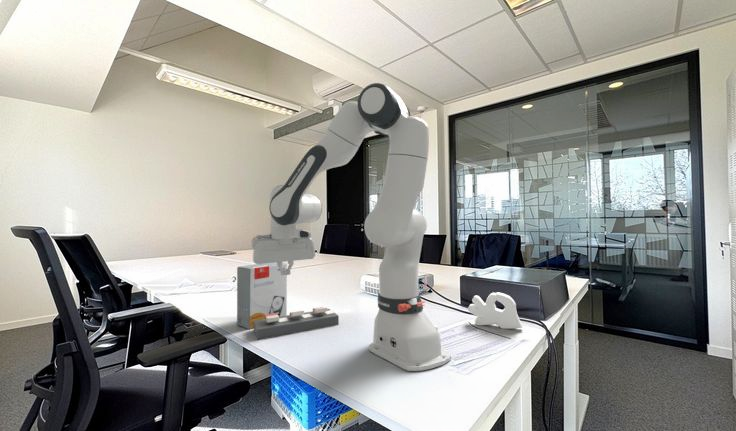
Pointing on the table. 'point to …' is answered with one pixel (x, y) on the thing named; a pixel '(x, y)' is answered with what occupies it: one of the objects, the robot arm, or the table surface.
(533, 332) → the table surface
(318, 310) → the rocker
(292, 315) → the rocker
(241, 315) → the hard drive box
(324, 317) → the power strip
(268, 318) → the rocker
